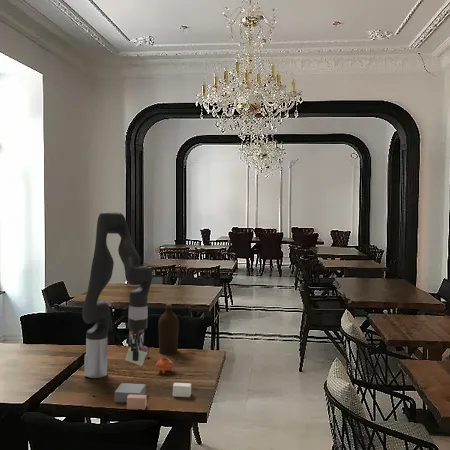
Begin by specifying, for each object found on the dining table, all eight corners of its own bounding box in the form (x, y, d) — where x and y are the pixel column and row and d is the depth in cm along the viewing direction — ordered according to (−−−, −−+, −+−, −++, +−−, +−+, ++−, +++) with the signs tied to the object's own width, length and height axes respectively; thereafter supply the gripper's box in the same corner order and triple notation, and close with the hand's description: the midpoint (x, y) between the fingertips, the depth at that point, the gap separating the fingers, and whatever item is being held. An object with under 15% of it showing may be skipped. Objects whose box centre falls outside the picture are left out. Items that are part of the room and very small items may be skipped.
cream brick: (172, 396, 216) (172, 385, 216) (174, 393, 220) (174, 382, 219) (189, 397, 216) (189, 386, 215) (191, 394, 219) (191, 383, 219)
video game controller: (149, 360, 267) (149, 346, 270) (148, 358, 263) (149, 344, 266) (129, 359, 267) (130, 345, 270) (128, 358, 263) (129, 344, 265)
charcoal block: (114, 401, 209) (114, 392, 209) (121, 392, 219) (121, 383, 219) (139, 403, 208) (139, 393, 208) (145, 393, 218) (145, 384, 218)
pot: (169, 366, 252) (171, 354, 250) (174, 376, 245) (176, 362, 243) (153, 368, 248) (154, 355, 247) (157, 377, 242) (159, 364, 240)
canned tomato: (126, 344, 289) (126, 324, 288) (135, 340, 296) (135, 321, 295) (138, 346, 285) (138, 326, 285) (146, 342, 292) (147, 323, 291)
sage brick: (124, 359, 210) (128, 349, 210) (127, 357, 214) (130, 346, 213) (141, 365, 210) (144, 355, 209) (143, 362, 213) (146, 352, 213)
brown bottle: (165, 355, 269) (165, 307, 268) (154, 350, 278) (154, 303, 276) (182, 352, 276) (183, 304, 275) (171, 347, 284) (171, 301, 283)
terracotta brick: (126, 409, 202) (126, 397, 202) (128, 405, 206) (128, 394, 206) (144, 410, 202) (145, 398, 202) (146, 406, 206) (146, 395, 205)
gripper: (133, 311, 218) (132, 352, 219) (123, 320, 203) (122, 364, 205) (151, 312, 217) (149, 354, 218) (143, 321, 203) (141, 365, 204)
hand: (136, 358), depth 211 cm, fingers closed on sage brick, 3 cm apart
